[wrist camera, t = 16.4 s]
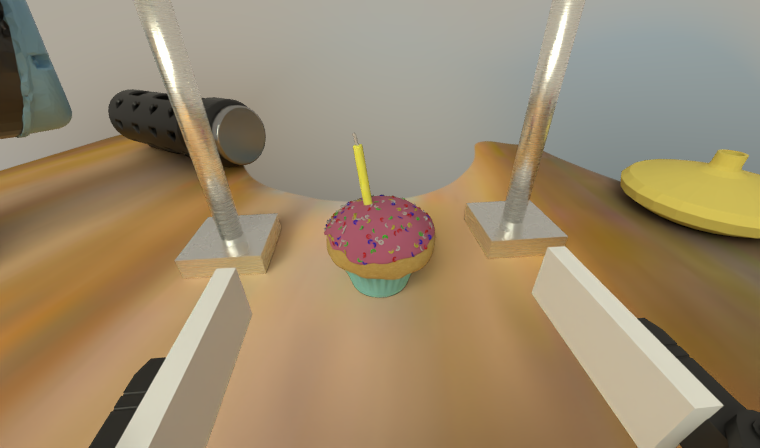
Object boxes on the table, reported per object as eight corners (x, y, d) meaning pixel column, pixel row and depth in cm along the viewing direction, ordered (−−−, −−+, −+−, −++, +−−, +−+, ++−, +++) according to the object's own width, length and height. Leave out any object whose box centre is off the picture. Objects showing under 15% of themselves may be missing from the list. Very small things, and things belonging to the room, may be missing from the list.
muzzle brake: (176, 139, 61) (155, 84, 56) (276, 162, 50) (262, 95, 44) (124, 154, 54) (94, 92, 49) (226, 184, 43) (201, 108, 37)
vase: (672, 177, 42) (700, 126, 38) (844, 240, 29) (912, 173, 26) (580, 193, 39) (601, 138, 35) (731, 273, 26) (790, 200, 22)
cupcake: (309, 288, 25) (282, 145, 18) (367, 237, 31) (362, 115, 24) (401, 335, 21) (407, 174, 14) (447, 266, 27) (466, 130, 20)
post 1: (183, 278, 26) (-55, -207, 12) (214, 233, 32) (77, -129, 18) (265, 273, 27) (127, -203, 13) (281, 229, 32) (199, -128, 18)
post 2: (487, 258, 28) (589, -191, 14) (463, 219, 34) (517, -124, 20) (561, 254, 28) (732, -188, 14) (524, 215, 34) (620, -123, 20)
